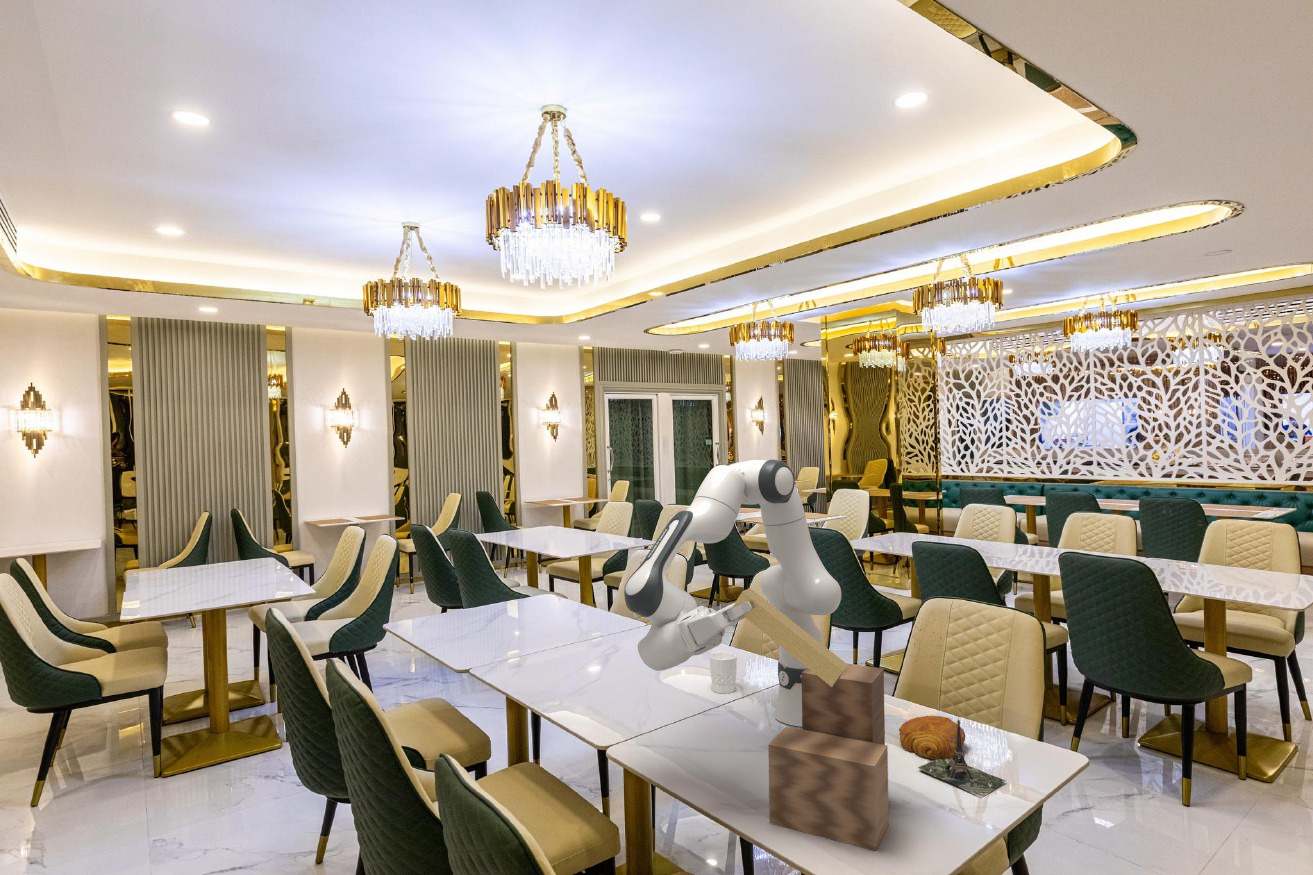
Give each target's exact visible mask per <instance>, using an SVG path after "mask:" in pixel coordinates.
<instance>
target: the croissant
mask: <svg viewBox="0 0 1313 875" xmlns="http://www.w3.org/2000/svg"><path fill="white" fill-rule="evenodd" d="M957 725H958V724H957V722H955V721H953V720H952V719H950V718H949V717H947V716H946V717H945V716H942V715H941V716H939V715H924V716H923V715H922V716H918V717H917V716H916V717H914V718H911V719H909V720H907V721H905V722H904V723H903V722H902V725H901V726H900V727H899V729H898V731H899V743H900V744H901V746H902V748H903V749H904V750H905V751H906V752H907V751H908V752H909V754H911V753H912V754H917V755H918V756H921V757H924V758H927V759H930V760H932V761H934V760H937V759H939V758H949V759H950V758H952V757H953V755H954V752H955V748H956V741H957ZM960 734H961V745H962V746H963V745H964V743H965V741H966V732H965V731H964V728H962V727H961V726H960Z"/></svg>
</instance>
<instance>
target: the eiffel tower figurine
mask: <svg viewBox="0 0 1313 875" xmlns="http://www.w3.org/2000/svg"><path fill="white" fill-rule="evenodd" d="M957 717H960V715H958V716H957ZM956 723H957V724H958V725H957V741H956V748H955V752H954V755H953V756H952V757H949V758H939V759H937V760H932V761H930V762H927V763H925V764H922V765H920V766H918V767H917V768H918V769H920V770H921V771H923V772H925V773H927V774H928V775H931V776H933V777H935V778H937V779H939V780H943V781H945V782H946V783H950V784H952V785H955V786H956V787H959V788H960V789H962V790H964V791H966V792H967V793H970V794H971V795H973V796H975V797H977V798H980V799H983V798H984V797H985V796H987V795H989V794H990V793H991V792H993V791H995V789H997V788H998V787H999V786H1000V785H1002V784H1003V783H1004V782H1007V780H1005V779H1002V778H1000V777H997V776H995V775H993V774H990V773H987V772H985V771H982V770H980V769H978V768H975V767H972V766H971V765H968V763H967V762H966V760H965V756H964V751H963V745H961V734H960V727H961V720H960V718H958V719H957V721H956Z"/></svg>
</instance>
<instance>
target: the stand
mask: <svg viewBox="0 0 1313 875" xmlns="http://www.w3.org/2000/svg"><path fill="white" fill-rule="evenodd" d="M845 663H846V664H848V667H847V668H846V670H845V671H844V673H843V674H842V676H841V677H840V678H839V680H838V681H837V682H836V683H835V684H834V685H833V686H832V687H831V686H830V685H828V684H827V683H826V682H825V681H823V680H822V679H821V678H820V677H818V676H817V675H816V674H815V673H813V672H812V671H811V670H810V669H809V668H806V669H805V670H804V671H803V672H802V673H801V677H802V726H801V727H802V728H798V727H797V728H796V727H794V726H793V727H791V726H785V727H784V728H783V729H782V730H781V731H780V732H779V733H778V734H777V735H776V736H775V737H774V738H773V739H772V741H770V742H769V743H768V746H767V747H768V748H767V749H768V750H767V751H768V752H767V754H768V755H767V756H768V804H769V805H768V807H769V808H768V810H769V811H768V813H769V814H768V815H769V824H771V825H775V826H778V827H783V828H786V829H790V830H794V831H798V832H801V833H805V834H810V835H814V836H818V837H820V838H824V839H828V840H831V841H836V842H840V843H844V844H848V845H852V846H856V847H859V848H863V849H866V850H867V849H868V850H870V851H875V852H877V850H878V848H879V845H880V844H881V842H882V840H883V838H884V835H885V833H886V831H887V829H888V827H889V825H890V824H889V822H890V821H889V818H890V816H889V814H890V813H889V767H888V766H889V762H888V760H889V759H888V758H889V757H888V750H889V749H888V745H887V744H886V737H885V734H886V731H885V730H886V728H885V727H886V726H885V725H886V724H885V720H886V719H885V668H880V667H876V666H875V667H874V666H868V665H867V666H866V665H860V664H853V663H852V664H851V663H847V662H845Z"/></svg>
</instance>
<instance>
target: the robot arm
mask: <svg viewBox="0 0 1313 875" xmlns="http://www.w3.org/2000/svg"><path fill="white" fill-rule="evenodd" d="M795 482H796V480H795V475H794V472H793V471H792V469H791V467H790V466H789V465H788V464H787V463H786V462H784V461H783V460H778V459H750V460H744V461H739V462H735V461H734V462H733V461H732V462H730V463H726V464H722V465H721V464H719V465H716V466H714V467H713V468H711V470H710V471H708V473H707V475H706V476H705V478H704V480H702V483H701V484H700V486H699V488H698V490H697V492H696V494H695V496H694V498H693V500H692V502H691V504H690V505H689V507H688V508H687V509H686V510H681V511H678V512H677V513H676V514H674V515H673V516H672V518H671V519H670V520H669V521H668V523H667V524H666V526H665V527H664V528H663V530H662V531H661V533H660V535H659V536H658V538H657V539H656V541H655V542H654V544H653V546H652V547H651V549H650V550H649V552H648V553H647V555H646V556H645V558H644V559H643V561H642V562H641V564H640V565H639V566H638V567H637V568H636V569H635V571H634V572H633V573H632V574H631V576H629V578H628V579H627V581H626V583H625V585H624V591H623V593H624V595H623V596H624V601H625V606H626V607H627V609H628V610H629V611H630V612H632V613H635V614H636V615H637V616H640V617H643V618H645V619H646V620H648V621H650V622H651V625H650V628H649V629H648V632H647V633H646V635H645V636H644V637H643V638H641V640H640V641H639V642H638V643H637V652H638V654H639V658H640V659H641V660H642V661H643V663H644V664H645V665H646V666H647V667H649V668H650V669H651V670H653V671H656V672H661V671H666V670H669V669H672V668H675V667H678V666H679V665H681V664H683V663H685V662H687V661H689V660H690V658H691V657H694V656H699V655H702V654H704V653H706V652H709V651H710V650H712V649H714V648H716V647H718V646H720V645H721V644H722V641H723V637H724V636H725V634H726V629H727V628H730V626H733V625H735V624H737V623H738V622H740V621H743V620H744V619H746V618H745V617H744V616H743V614H744V613H746V612H748V611H750V610H752V609H753V608H754V606H753V604H752V602H751V601H747V602H745V603H743V604H741V605H739V606H736V607H734V608H733V606H734V604H735V602H734V603H731V604H729V605H727V606H725V607H723V608H721V609H718V610H716V609H714V608H711V607H709V608H708V607H706V606H704V605H698V602H697V600H696V599H695V598H694V597H693V596H692V595H691V594H689V592H687V591H686V590H684V589H683V588H681V587H680V586H678V585H677V584H675V583H673V582H672V581H671V580H669V579H668V577H667V571H668V569H669V567H670V565H671V564H672V563H673V561H674V559H675V557H676V556H677V554H678V552H679V551H680V549H681V547H682V546H683V545H684V544H685V543H687V542H689V541H690V542H693V543H700V544H715V543H719V542H720V541H723V540H725V539H726V538H727V537H728V536H729V534H730V533H731V532H732V530H733V528H734V526H735V523H736V521H737V517H738V516H739V513H740V509H741V506H742V505H751V506H752V505H758V504H759V506H760V514H761V519H762V524H763V525H762V526H763V529H764V533H765V537H766V541H767V547H768V550H769V552H770V554H771V555H772V557H774V558H775V560H776V561H777V562H778V564H776V565H775V564H774V565H771V566H769V567H767V569H766V570H765V571H764V572H763V573H762V576H761V580H760V587H761V591H762V593H763V595H764V596H765V597H766V599H767V602H769V603H770V604H771V605H772V606H774V607H775V608H776V609H778V610H779V611H780V612H781V613H783V614H784V615H785V616H787V617H788V618H789V619H790V620H792V621H793V622H794V623H795V624H797V625H798V626H799V627H801V628H802V629H803V630H804V631H806V632H807V633H808V634H809V635H811V636H812V637H813V638H815V639H816V640H817V641H818V642H820V643H821V644H822V645H823V639H822V638H823V636H822V633H821V629H820V628H819V627H818V626H817V624H816V623H815V622H814V618H813V617H812V616H828V615H829V616H830V615H831V614H832V613H834V612H835V611H837V609H838V608H839V605H840V604H841V601H842V590H841V586H840V584H839V582H838V581H837V580H836V579H835V578H834V577H833V576H832V575H831V574H830V572H828V571H827V569H826V567H825V566H824V564H823V562H822V561H821V559H820V557H819V555H818V553H817V550H816V549H815V547H814V545H813V541H812V538H811V534H810V529H809V526H808V521H807V517H806V512H805V509H804V505H803V502H802V498H801V495H800V493H799V490H798V488H797V486H796V484H795ZM760 596H761V597H762V595H760ZM762 598H763V597H762ZM778 652H779V660H778V661H777V677H778V689H777V697H776V704H775V710H774V713H773V716H774V719H776V720H778V722H781V723H783V724H786V725H790V726H793V727H794V726H795V727H802V677H801V673H802V672H803V671H804V670H805V669H806V668H807V667H806V666H805V665H804V664H802V663H801V662H800V661H799V660H797V659H796V658H795V657H794V656H792V655H791V654H790V653H789V652H787V651H786V650H785V649H784V648H782V647H781V646H780V645H779V644H778Z"/></svg>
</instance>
